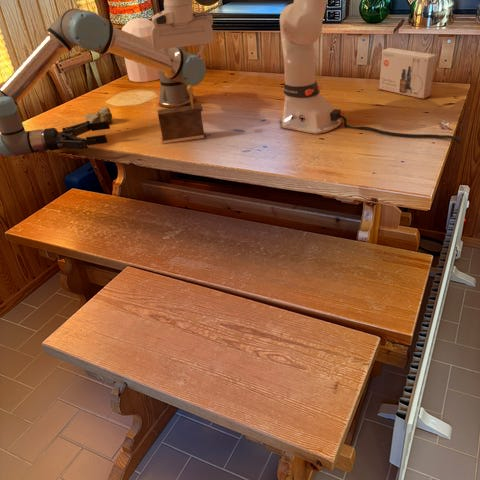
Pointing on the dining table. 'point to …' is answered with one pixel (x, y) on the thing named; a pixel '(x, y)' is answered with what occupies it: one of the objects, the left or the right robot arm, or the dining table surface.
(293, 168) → the dining table surface
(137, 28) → the container
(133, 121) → the dining table surface
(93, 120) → the rock
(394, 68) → the skincare box
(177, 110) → the lid
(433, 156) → the dining table surface
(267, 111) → the dining table surface
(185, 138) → the chest
